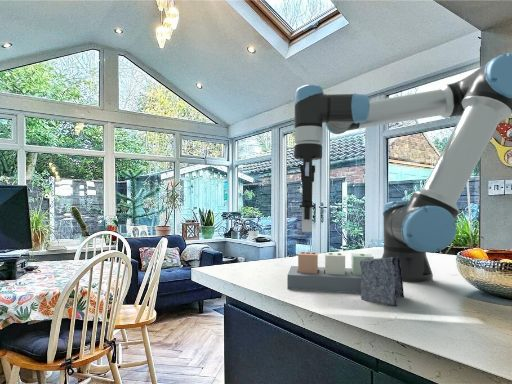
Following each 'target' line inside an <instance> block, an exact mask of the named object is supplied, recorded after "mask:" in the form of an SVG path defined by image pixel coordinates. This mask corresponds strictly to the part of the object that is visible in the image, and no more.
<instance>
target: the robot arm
mask: <svg viewBox="0 0 512 384" xmlns="http://www.w3.org/2000/svg"><path fill="white" fill-rule="evenodd" d="M511 115H512V52H507V53H502V54H500V55H498V56H496V57H493V58H491V59H490V60H489V61H488V62H487V63H485V64H484V65H482V66H481V67H480V68H478V69H477V70H475V71H474V72H472V73H471V74H469V75H468V76H466V77H464V78H462V79H461V80H458V81H456V82H453V83H450V84H444V85H442V86H440V88H439V89H435V90H434V89H433V90H428V91H423V92H422V91H421V92H417V93H411V94H407V95H399V96H394V97H389V98H388V97H387V98H383V99H377V100H371V101H370V98H369V96H368V95H367V94H360V93H347V94H346V93H344V94H343V93H342V94H339V93H338V94H337V93H336V94H327V93H325V92H324V89H323V87H322V86H320V85H314V84H305V85H302V86H299V87H298V88H297V89H296V90H295V97H294V132H292V134H291V135H292V136H293V137H294V144H295V145H294V146H293V157H294V159H295V160H297V161H298V160H299V161H302V165H299V171H300V180H301V188H302V190H301V192H302V193H301V199H302V200H301V204H299V208H301V232H302V233H313V208H315V207H316V205H315V204H313V203H314V202H313V183H314V182H315V173H316V165H315V164H313V161H317V160H321V159H322V157H323V146H322V145H321V144H322V143H323V138H324V137H323V136H324V135H323V133H324V132H323V131H324V130H323V124H324V123H325V127H326V129H327V130H328V131H329V132H330V133H331V134H332V135H341V134H343V133H346V132H347V131H353V130H359V129H364V128H365V129H366V128H369V127H370V128H371V127H377V126H382V125H388V124H395V123H401V122H407V121H413V120H419V119H421V120H422V119H426V118H432V117H439V116H441V117H442V118H444V119H449V118H454V117H460V118H459V119H458V121H457V123H456V126H455V127H454V129H453V130H452V132H451V134H450V136H449V139H448V140H447V142H446V144H445V146H444V148H443V150H442V152H441V154H440V155H439V157H438V158H437V161H436V163H435V165H434V167H433V169H432V170H431V172H430V174H429V176H428V178H427V179H426V182H425V183H424V186H423V187H422V188H421V189H419V190H416V191H414V192H413V193H412V194H411V197H410V199H407V200H396V201H395V200H394V201H389V202H387V203H385V204H384V205H383V213H382V215H383V253H382V257H381V258H390V257H400V258H399V260H400V263H401V272H402V282H407V283H425V282H432V283H434V279H433V277H434V276H433V275H434V274H433V270H432V268H431V266H430V262H429V259H428V256H427V253H436V252H440V251H443V250H444V249H446V248H447V247H449V246H450V245H451V243H452V242H453V241H454V240H455V237H456V236H457V229H458V228H457V225H456V219H457V217H458V215H459V213H460V209H459V207H458V205H457V202H458V201H459V198H460V197H461V195H462V193H463V192H464V189H465V187H466V185H467V183H468V182H469V181H470V180H469V179H471V176H472V174H473V172H474V171H475V168H476V167H477V165H478V163H479V161H480V159H481V157H482V155H483V154H484V152H485V150H486V148H487V146H488V144H489V142H490V140H491V138H492V136H493V135H494V132H495V131H496V130H497V127H498V125H499V124H500V122H501V121H504V120H506V119H510V117H511Z"/></svg>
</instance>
